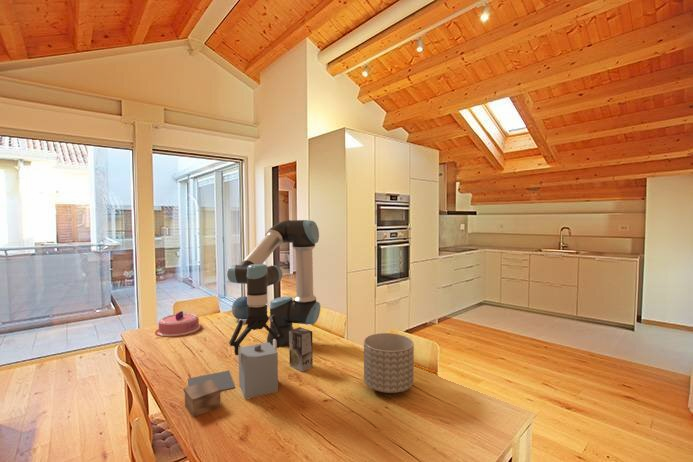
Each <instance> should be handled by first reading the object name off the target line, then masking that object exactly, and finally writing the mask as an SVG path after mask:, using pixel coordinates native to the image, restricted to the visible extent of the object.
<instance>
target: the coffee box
mask: <svg viewBox="0 0 693 462" xmlns="http://www.w3.org/2000/svg"><path fill="white" fill-rule="evenodd" d="M288 346H289V367H291V368H293V369H295V370H297V371H300V372H305V371H307V370H311V369H312V368H313V367H314V365H313V358H314V357H313V331H312V330H310V329H308V328H304V327H301V326H300V327H299V326H298V327H296V328H293V330H290V331H289V345H288Z"/></svg>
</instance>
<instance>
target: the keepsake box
mask: <svg viewBox="0 0 693 462" xmlns="http://www.w3.org/2000/svg"><path fill="white" fill-rule="evenodd" d="M183 392H184V406H185V408H186V410H188V412H189V413H190V415H192V417H193V418H196V417H197V416H200V415H203V414H205V413H208V412H210V411H213V410H216V409H218V408H221V406H222V405H221V402H222V401H221V399H222V398H221V393H223V392H222V389H221V388H220V387H219V386H218V385H217V384H216V383H214V382H213V381H212V380H208V381H205V382H202V383H199V384H196V385H192V386H189V387H188V386H186V387H184V388H183Z"/></svg>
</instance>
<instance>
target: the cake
mask: <svg viewBox="0 0 693 462" xmlns="http://www.w3.org/2000/svg"><path fill="white" fill-rule="evenodd" d="M199 322H200V320H199V316H198V315H197V314H194V313H192V312H191V313H190V312H189V313H188V312H184V311H183V310H181V311H178V312H177V313H174V314H170V315H167V316H164V317H163V318H161V319H159V321H158V329H157V330H155V332H154V335H155V336H156V337H161V338H177V337H183V336H189V335H191V334H195V333H197V332H199V331H201V330H202V329H203V324H201V323H199Z"/></svg>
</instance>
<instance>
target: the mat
mask: <svg viewBox="0 0 693 462" xmlns="http://www.w3.org/2000/svg"><path fill="white" fill-rule="evenodd" d="M232 377H233V376H232V375H231V372H230V370H224V371H219V372H214V373H209V374H204V375H198V376H194V377H190V378H187V384H188V385H187V387H189V386H192V385H196V384H199V383H202V382H205V381H208V380H212V381H213V382H214V383H216V384H217V385H218V386H219V387H220V388H221V389H222V391H227V390H232V389H235V388H236V386H235V384H234V380H233V378H232Z"/></svg>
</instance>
